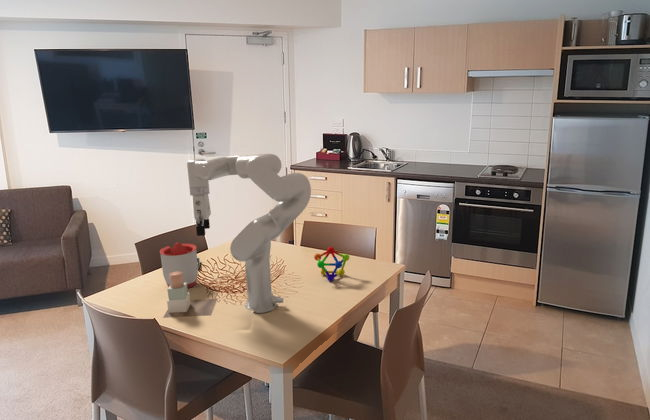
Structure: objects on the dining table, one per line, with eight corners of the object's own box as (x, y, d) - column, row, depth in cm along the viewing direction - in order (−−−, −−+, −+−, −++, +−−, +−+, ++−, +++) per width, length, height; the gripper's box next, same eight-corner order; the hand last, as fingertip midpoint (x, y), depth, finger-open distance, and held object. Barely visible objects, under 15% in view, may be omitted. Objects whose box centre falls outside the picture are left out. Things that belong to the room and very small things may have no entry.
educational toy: (318, 287, 227) (313, 254, 223) (317, 276, 239) (312, 245, 236) (353, 282, 227) (349, 249, 223) (350, 271, 240) (346, 240, 236)
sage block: (187, 293, 207) (186, 282, 206) (184, 299, 201) (183, 288, 200) (172, 293, 207) (171, 283, 206) (168, 300, 201) (167, 289, 200)
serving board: (217, 301, 213) (217, 298, 213) (211, 318, 199) (210, 315, 199) (173, 303, 213) (172, 300, 213) (163, 320, 198) (163, 317, 198)
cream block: (190, 304, 209) (189, 292, 208) (186, 311, 202) (185, 299, 201) (172, 304, 209) (171, 293, 208) (168, 312, 202) (166, 300, 201)
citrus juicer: (195, 275, 243) (191, 233, 238) (203, 287, 228) (199, 244, 223) (160, 281, 237) (155, 239, 232) (167, 295, 221) (161, 250, 216)
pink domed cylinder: (185, 283, 206) (184, 271, 204) (182, 288, 201) (181, 275, 199) (172, 283, 205) (171, 271, 204) (169, 288, 201) (167, 276, 199)
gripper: (205, 194, 199) (209, 238, 203) (212, 185, 215) (216, 225, 220) (185, 195, 198) (189, 238, 203) (194, 186, 215) (198, 226, 219)
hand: (203, 231), depth 211 cm, fingers open, 9 cm apart
